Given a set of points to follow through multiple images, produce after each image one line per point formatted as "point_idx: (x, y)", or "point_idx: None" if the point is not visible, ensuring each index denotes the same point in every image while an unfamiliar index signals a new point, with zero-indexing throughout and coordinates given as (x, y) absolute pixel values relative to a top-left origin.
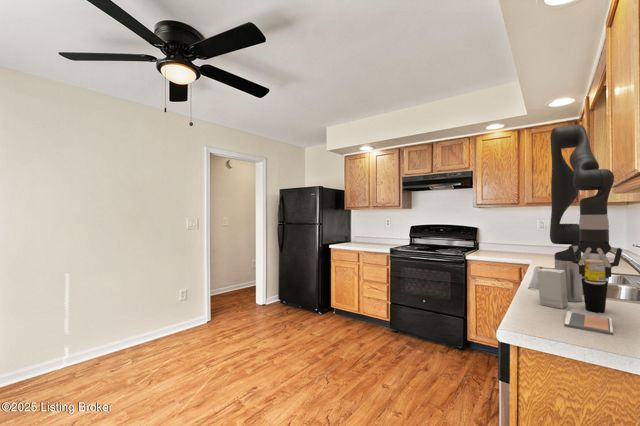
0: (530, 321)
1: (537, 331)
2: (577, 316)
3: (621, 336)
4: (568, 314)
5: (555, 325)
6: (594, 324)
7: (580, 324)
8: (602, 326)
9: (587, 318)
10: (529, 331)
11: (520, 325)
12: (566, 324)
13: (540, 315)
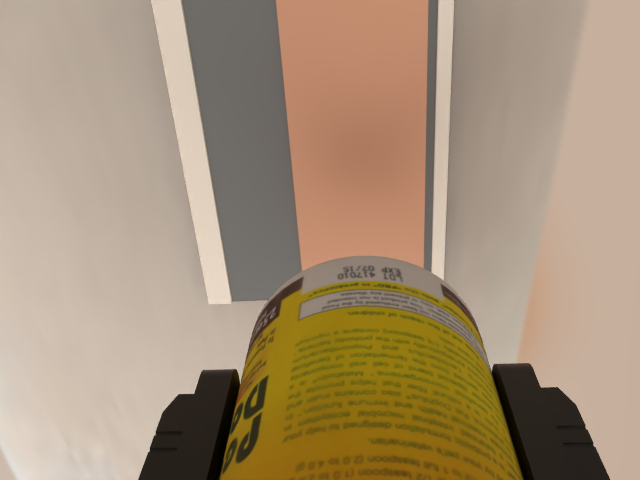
0: (50, 322)
1: (141, 439)
2: (235, 70)
3: (477, 277)
4: (176, 75)
5: (172, 307)
6: (352, 215)
7: (283, 257)
8: (394, 228)
9: (302, 94)
10: (116, 457)
11: (49, 410)
12: (220, 301)
13: (31, 160)
